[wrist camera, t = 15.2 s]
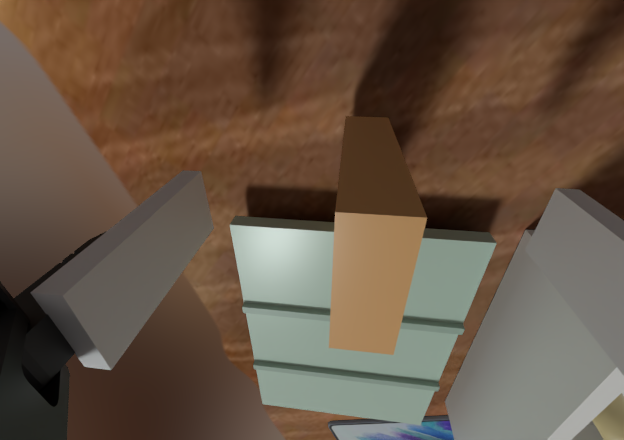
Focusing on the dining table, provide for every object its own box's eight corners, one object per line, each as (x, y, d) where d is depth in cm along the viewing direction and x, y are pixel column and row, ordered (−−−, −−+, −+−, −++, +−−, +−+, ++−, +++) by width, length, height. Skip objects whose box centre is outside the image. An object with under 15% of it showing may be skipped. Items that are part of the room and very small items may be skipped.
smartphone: (325, 424, 33) (469, 418, 29) (326, 416, 34) (466, 409, 29) (345, 454, 36) (477, 453, 32) (345, 446, 37) (475, 444, 33)
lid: (226, 107, 16) (75, 196, 7) (520, 114, 14) (768, 239, 6) (268, 381, 30) (234, 518, 22) (416, 399, 29) (441, 555, 20)
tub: (525, 229, 17) (631, 352, 11) (801, 246, 16) (1123, 401, 9) (444, 401, 28) (472, 516, 22) (605, 421, 27) (688, 551, 20)
